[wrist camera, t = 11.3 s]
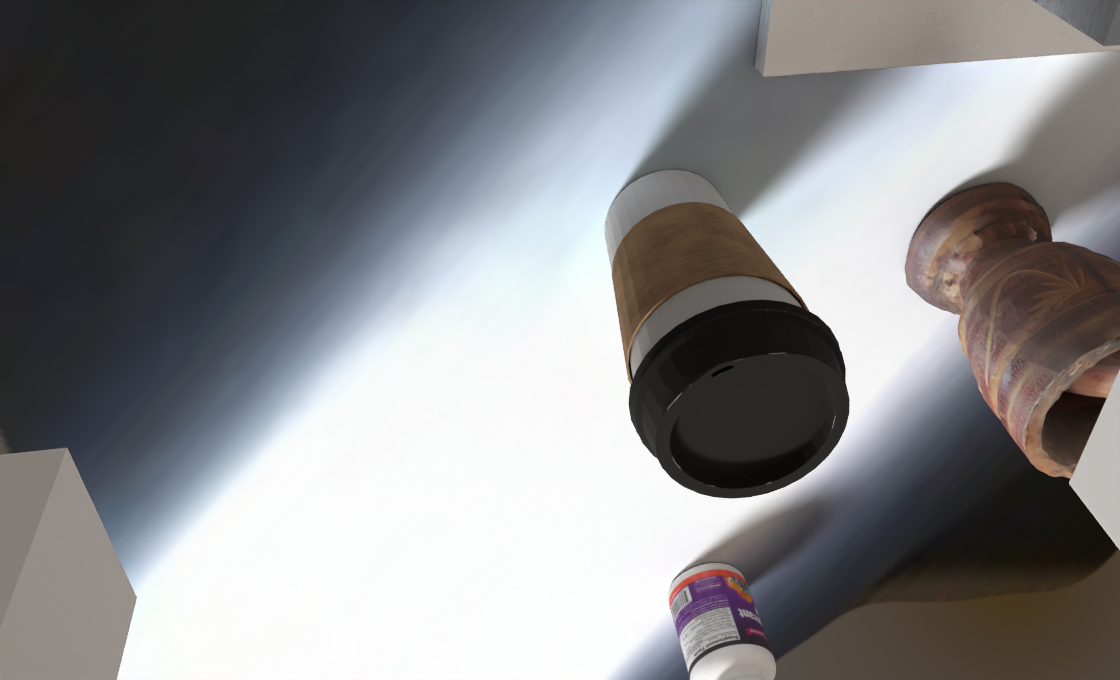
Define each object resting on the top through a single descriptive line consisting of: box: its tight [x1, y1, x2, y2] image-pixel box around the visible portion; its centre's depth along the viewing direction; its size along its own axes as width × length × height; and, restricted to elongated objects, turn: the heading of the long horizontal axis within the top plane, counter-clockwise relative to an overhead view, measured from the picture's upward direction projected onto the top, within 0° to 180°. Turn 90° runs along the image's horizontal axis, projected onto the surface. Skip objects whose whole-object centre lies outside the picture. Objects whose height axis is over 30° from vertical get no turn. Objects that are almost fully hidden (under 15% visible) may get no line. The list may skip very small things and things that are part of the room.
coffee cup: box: [605, 170, 849, 498], centre depth 41 cm, size 8×8×15 cm
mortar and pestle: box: [905, 183, 1120, 479], centre depth 42 cm, size 12×9×20 cm
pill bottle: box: [668, 563, 776, 680], centre depth 61 cm, size 5×5×10 cm
